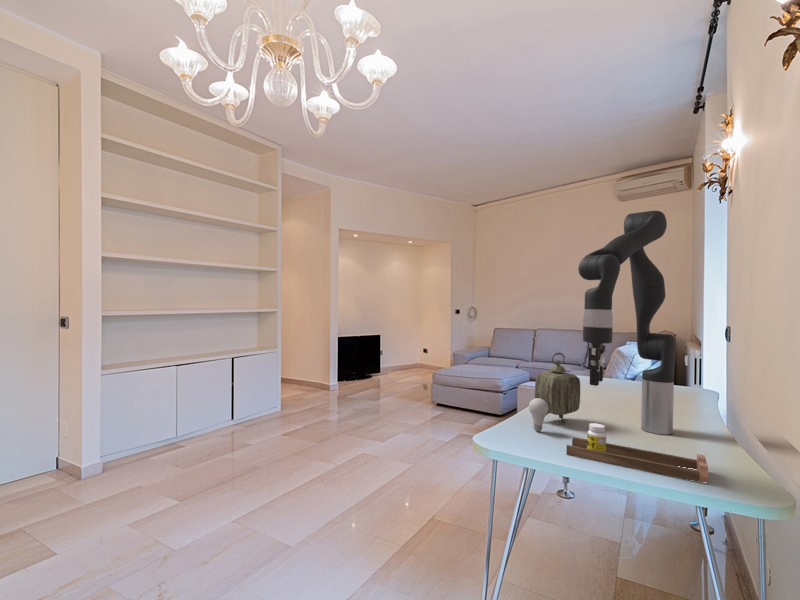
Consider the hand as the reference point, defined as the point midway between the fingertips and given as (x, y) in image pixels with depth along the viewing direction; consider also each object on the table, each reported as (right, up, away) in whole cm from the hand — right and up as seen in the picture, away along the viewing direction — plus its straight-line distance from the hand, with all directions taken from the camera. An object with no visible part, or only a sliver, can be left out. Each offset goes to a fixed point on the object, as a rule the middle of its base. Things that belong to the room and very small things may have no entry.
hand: (596, 383), depth 114 cm
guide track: (+6, -20, -5) cm, 22 cm away
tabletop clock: (+1, -21, +32) cm, 38 cm away
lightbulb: (-10, -20, +20) cm, 30 cm away
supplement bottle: (0, -20, -1) cm, 20 cm away
